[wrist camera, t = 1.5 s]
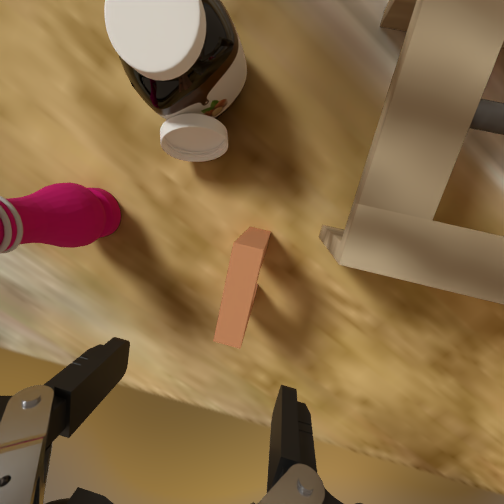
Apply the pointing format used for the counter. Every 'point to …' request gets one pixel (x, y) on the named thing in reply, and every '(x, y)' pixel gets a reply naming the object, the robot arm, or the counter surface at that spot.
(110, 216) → the pepper mill
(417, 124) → the beige hollow rectangular block
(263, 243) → the orange notched plate
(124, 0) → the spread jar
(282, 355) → the counter surface
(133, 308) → the counter surface
